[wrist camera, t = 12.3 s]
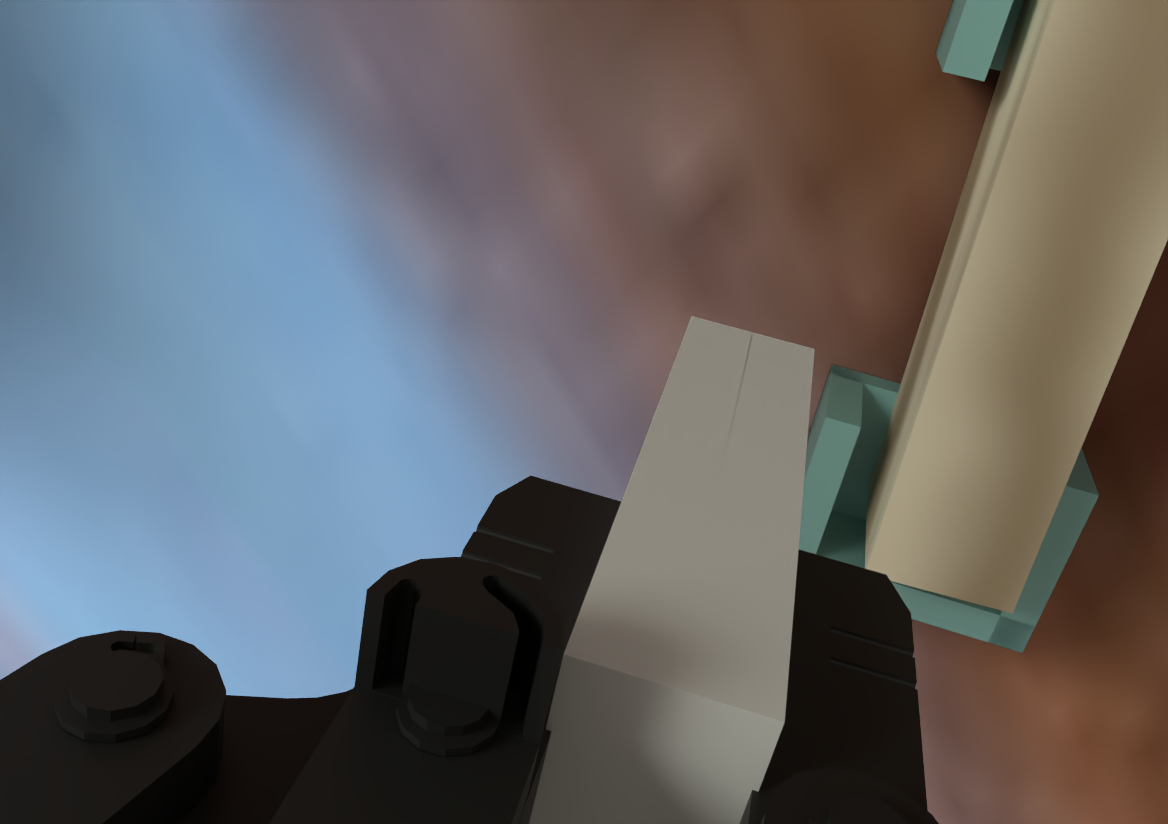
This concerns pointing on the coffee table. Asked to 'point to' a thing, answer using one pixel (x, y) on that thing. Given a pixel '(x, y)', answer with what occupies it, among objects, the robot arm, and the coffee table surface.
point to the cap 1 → (977, 36)
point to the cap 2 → (839, 509)
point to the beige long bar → (1027, 301)
